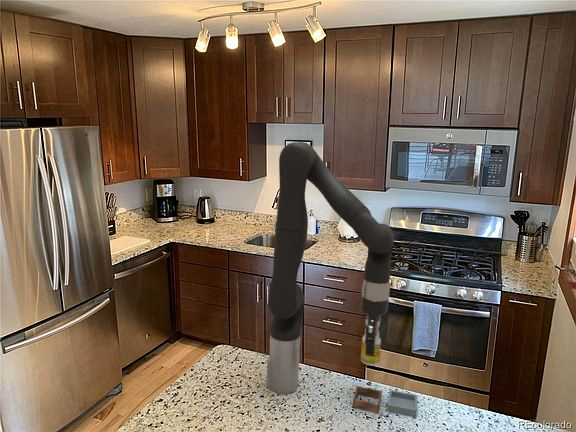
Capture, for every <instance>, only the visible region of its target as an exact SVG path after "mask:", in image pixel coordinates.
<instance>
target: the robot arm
mask: <svg viewBox="0 0 576 432" xmlns="http://www.w3.org/2000/svg"><path fill="white" fill-rule="evenodd" d="M278 169H279V170H278V173H279V174H278V176H279V193H278V201H277V212H276V220H275V221H276V222H275V230H274V247H273V248H274V249H273V261H272V262H273V266H272V275H271V276H272V277H271V282H270V288H269V292H268V297H267V305H268V306H267V307H268V310H269V312H270V314H271V315H272V316H273V319H272V321H271V324H270V328H269V329H270V330H269V331H270V332H269V333H270V334H269V356H268V358H267V360H266V388H267V389H270V390H271V391H272V392H274V393H277V394H282V395H283V394H284V395H286V394H291V393H294V392H295V391H297V389H298V388H299V379H300V378H299V376H300V374H299V373H300V353H301V352H300V351H301V350H300V349H301V331H302V327H303V326H302V325H303V321H304V320H303V319H304V309H305V308H304V307H305V295H304V292H303V289H302V287H301V286H300V285H299V284H298V283H297V280H298V274H299V270H300V267H301V263H302V260H303V257H304V254H305V250H306V246H307V239H308V228H309V227H308V226H309V220H308V219H309V218H308V217H309V216H308V210H307V205H306V188H307V181H308V182H310V183H311V184H312V185H313V186H314V187H315V188H316V189H317V190H318V191H319V192H320V193H321V195H322V197H323V198H324V199H325V200H326V202H327V204H328V205H329V206H330V207H331V209H332V210H333V211H334V212H335V214H337V216H338V217H340V219H341V220H343V221H344V223H346V225H348V226H349V227H350V228H352V230H353V232H354V233H355V235H357V237H358V239H360V240H361V242H362V243H363V244H364V246H365V247H366V248H367V257H366V260H365V264H364V274H363V275H364V276H363V282H362V288H361V298H360V299H361V300H360V310H361V311H362V312H363V313H365V314H366V317H365V329H364V335H365V334H366V339H365V344H366V355H368V356H373V355H374V344H375V342H376V341H375V338H376V336H377V335H378V330H379V329H380V325H381V320H382V316H384V315H386V314H387V313H388V311H389V302H390V290H391V287H390V281H391V280H390V279H391V262H392V261H391V260H392V254H393V253H392V252H393V247H394V241H395V240H394V239H395V233H394V231H393V229H392V228H391V227H390V226H389V225H388V224H386V223H379V222H378V221H377V220H376V218H374V217H373V215H372V212H371V211H370V209H369V208H368V207H367V206H366V205H365V204H364V203H363V202H362V200H360V199H359V198H358V197H357V196H356V195H355V194H354V193H353V192H352V191H351V190H350V189H349V188H347V186H345V185H344V184H343V183H342V182H341V181H340V180H339V178H337V176H336V175H335V174H334V173H333V172H332V171H331V170H330V169H329V168H328V166H327V165H326V163H324V161H323V159H321V157H320V156H319V154H318V153H317V151H316V149H314V147H313V146H312V145H311V144H309V143H307V142H305V141H297V142H296V141H295V142H290V143H287V144H286V145H285V146H284V147H283V148H282V149H281V151H280V154H279V158H278ZM375 331H376V332H375ZM368 338H372V339H373V340H372V339H368Z"/></svg>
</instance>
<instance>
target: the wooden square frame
mask: <svg viewBox="0 0 576 432" xmlns="http://www.w3.org/2000/svg"><path fill="white" fill-rule="evenodd" d="M353 394H354V395H353V398H352V407H351V408H352V409H357V410H361V411H366V412H372V413H375V414H376V413H377V414H380V409H381V403H382V395H383V390H382V389H381V390H380V389H376V388H370V387H364V386H359V385H356V387H355V391H354V393H353ZM358 395H359V396H363V397H368V398H373V399H377V403H376V402H370V401H366V400H361V399H358Z"/></svg>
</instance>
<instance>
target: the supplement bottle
mask: <svg viewBox="0 0 576 432" xmlns="http://www.w3.org/2000/svg"><path fill="white" fill-rule="evenodd" d="M375 332H376V331H375ZM365 339H366V334H365V333H364V335H363V336H362V339H361V351H360V361H361V362H362V363H363V364H365V365H367V366H376V365H378V364H379V363H380V357H381V345H382V339H381V338H380V330H379V329H378V335H377V336H376V338H375V341H376V342H375V344H374V355H373V356H368V355H366V344H365ZM368 339H372V338H368ZM372 340H373V339H372Z"/></svg>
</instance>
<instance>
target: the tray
mask: <svg viewBox="0 0 576 432" xmlns="http://www.w3.org/2000/svg"><path fill="white" fill-rule="evenodd" d="M386 410H387V411H386V412H388V413H392V414H397V415H402V416H407V417H411V418H417V412H418V411H417V410H418V395H417V394H413V393H408V392H403V391H398V390H394V389H389V393H388V402H387V409H386Z"/></svg>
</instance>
